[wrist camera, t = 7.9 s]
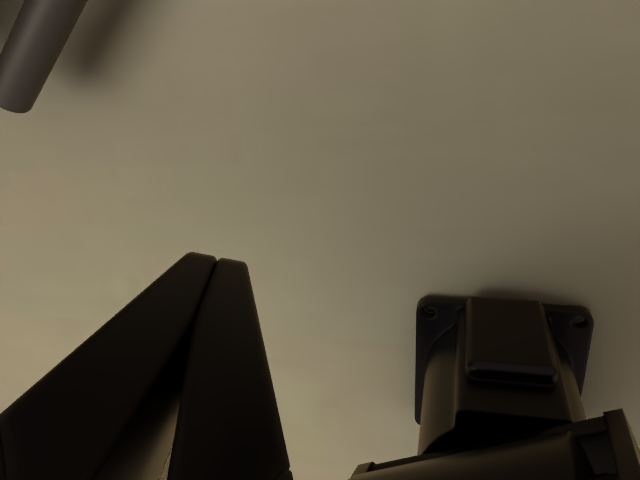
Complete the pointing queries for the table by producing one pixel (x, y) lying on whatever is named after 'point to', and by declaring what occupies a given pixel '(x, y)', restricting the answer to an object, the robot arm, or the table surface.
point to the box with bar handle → (34, 49)
